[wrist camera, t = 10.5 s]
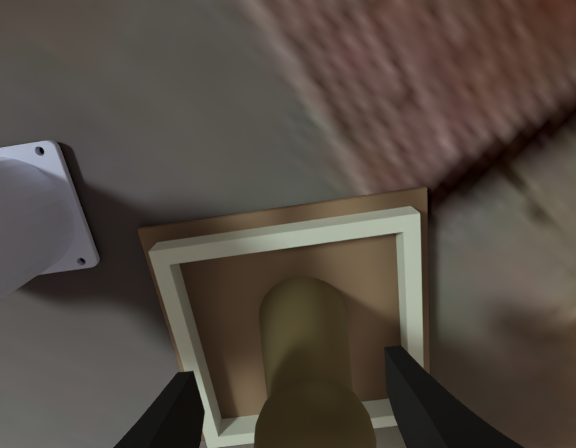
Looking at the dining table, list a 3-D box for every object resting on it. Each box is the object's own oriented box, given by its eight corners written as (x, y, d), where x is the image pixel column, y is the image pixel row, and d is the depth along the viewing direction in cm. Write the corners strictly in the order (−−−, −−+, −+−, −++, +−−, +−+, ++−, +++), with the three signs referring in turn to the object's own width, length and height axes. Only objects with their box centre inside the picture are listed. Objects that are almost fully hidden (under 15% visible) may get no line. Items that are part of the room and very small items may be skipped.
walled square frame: (211, 430, 27) (208, 448, 25) (157, 242, 22) (148, 251, 20) (417, 405, 26) (424, 422, 25) (410, 205, 21) (420, 213, 20)
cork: (307, 259, 22) (328, 394, 12) (364, 318, 24) (428, 485, 13) (240, 313, 23) (205, 479, 13) (298, 366, 25) (309, 552, 14)
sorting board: (203, 436, 27) (202, 441, 27) (139, 227, 22) (137, 229, 21) (428, 409, 27) (430, 413, 26) (424, 186, 21) (427, 187, 21)
